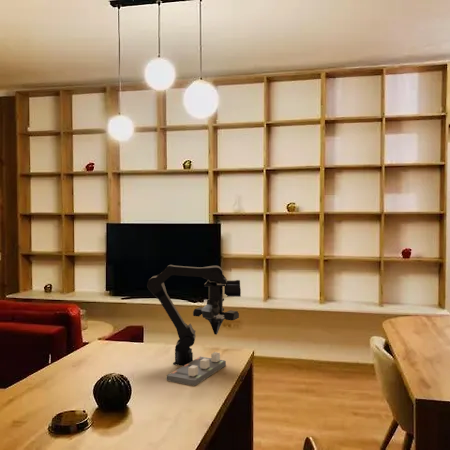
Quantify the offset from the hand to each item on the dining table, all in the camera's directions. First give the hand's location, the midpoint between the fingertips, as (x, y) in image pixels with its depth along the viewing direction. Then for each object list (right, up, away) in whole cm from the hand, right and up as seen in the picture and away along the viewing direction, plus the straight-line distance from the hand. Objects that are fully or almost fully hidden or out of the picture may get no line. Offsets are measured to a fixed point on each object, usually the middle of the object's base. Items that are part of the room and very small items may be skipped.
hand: (215, 334), depth 202 cm
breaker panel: (-7, -13, -11) cm, 18 cm away
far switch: (0, -10, -4) cm, 11 cm away
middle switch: (-4, -10, -12) cm, 16 cm away
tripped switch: (-8, -11, -20) cm, 24 cm away
